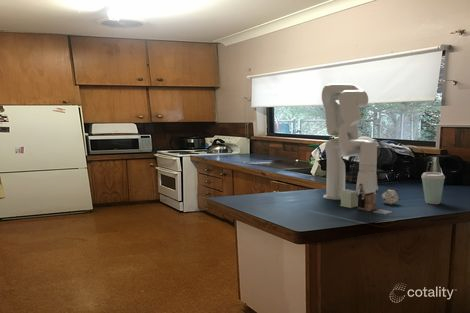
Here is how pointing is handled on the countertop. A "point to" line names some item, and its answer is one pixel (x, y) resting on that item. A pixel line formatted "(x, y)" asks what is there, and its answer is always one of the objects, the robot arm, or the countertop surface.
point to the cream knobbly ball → (390, 196)
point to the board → (377, 211)
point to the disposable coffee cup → (433, 186)
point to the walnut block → (369, 202)
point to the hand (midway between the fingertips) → (366, 205)
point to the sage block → (349, 198)
